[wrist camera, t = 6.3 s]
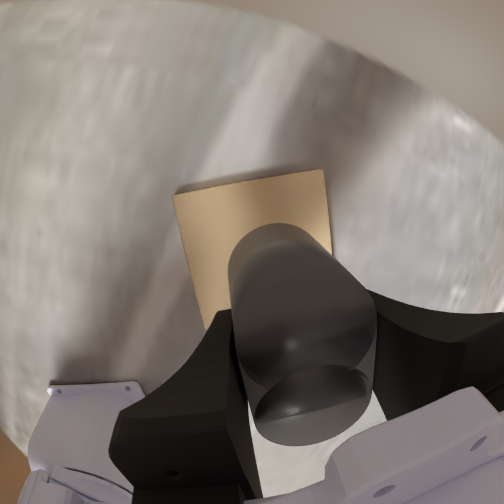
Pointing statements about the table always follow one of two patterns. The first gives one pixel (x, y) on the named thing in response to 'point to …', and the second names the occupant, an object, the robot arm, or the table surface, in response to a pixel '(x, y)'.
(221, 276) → the pad
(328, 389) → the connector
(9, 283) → the table surface
